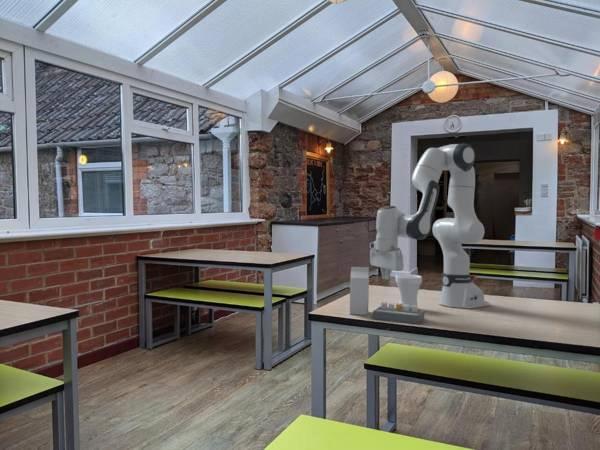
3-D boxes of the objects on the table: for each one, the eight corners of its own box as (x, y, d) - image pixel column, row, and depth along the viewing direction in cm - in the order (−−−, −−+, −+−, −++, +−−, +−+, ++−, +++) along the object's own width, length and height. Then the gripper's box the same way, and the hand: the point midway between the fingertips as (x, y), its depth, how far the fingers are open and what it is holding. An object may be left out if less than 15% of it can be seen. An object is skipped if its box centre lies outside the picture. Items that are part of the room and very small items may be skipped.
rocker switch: (396, 310, 192) (396, 304, 191) (397, 309, 193) (396, 303, 192) (401, 310, 191) (401, 305, 190) (402, 309, 192) (401, 304, 191)
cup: (422, 312, 204) (423, 278, 203) (395, 310, 206) (395, 277, 205) (420, 306, 215) (421, 274, 214) (394, 305, 217) (395, 273, 216)
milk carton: (367, 315, 197) (368, 268, 196) (349, 314, 198) (350, 267, 198) (368, 311, 204) (369, 266, 203) (351, 310, 205) (352, 265, 205)
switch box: (372, 318, 191) (373, 303, 191) (380, 313, 200) (380, 299, 200) (419, 324, 184) (419, 308, 183) (424, 318, 193) (424, 303, 192)
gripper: (407, 247, 192) (407, 282, 192) (380, 243, 211) (379, 275, 211) (394, 248, 189) (393, 283, 190) (367, 243, 208) (366, 275, 209)
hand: (385, 279), depth 201 cm, fingers closed
